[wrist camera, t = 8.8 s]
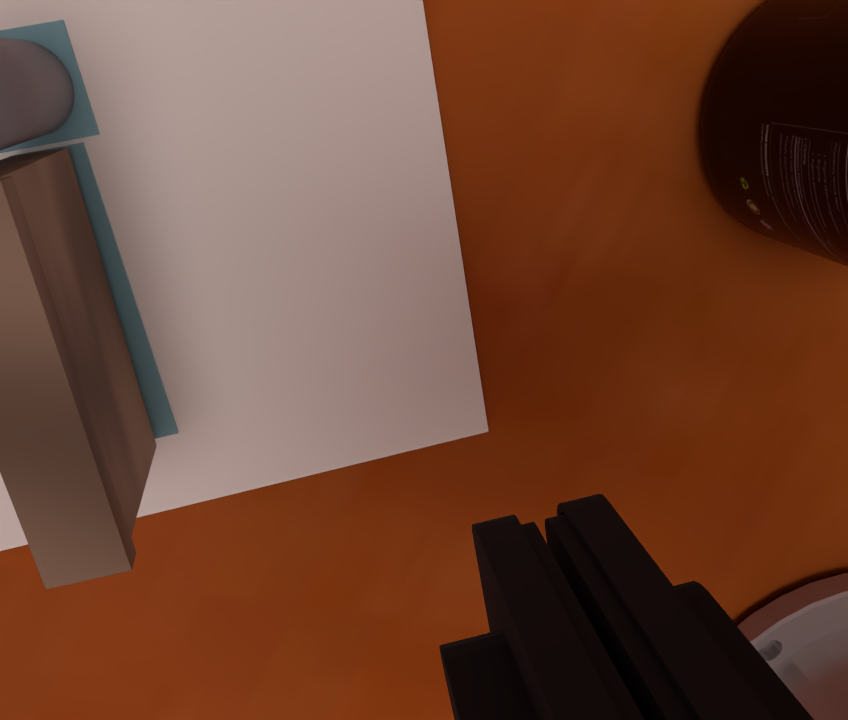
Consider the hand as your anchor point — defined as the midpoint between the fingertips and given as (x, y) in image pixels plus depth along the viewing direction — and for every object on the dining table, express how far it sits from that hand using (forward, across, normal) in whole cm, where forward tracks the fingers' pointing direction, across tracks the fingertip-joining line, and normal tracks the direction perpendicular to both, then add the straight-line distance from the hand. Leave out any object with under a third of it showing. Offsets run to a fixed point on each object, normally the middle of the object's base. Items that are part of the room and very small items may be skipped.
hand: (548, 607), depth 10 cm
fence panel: (+11, +8, -3) cm, 14 cm away
